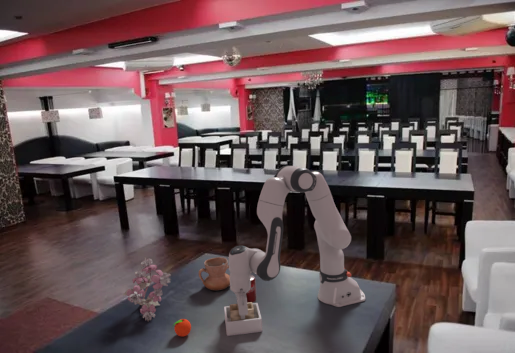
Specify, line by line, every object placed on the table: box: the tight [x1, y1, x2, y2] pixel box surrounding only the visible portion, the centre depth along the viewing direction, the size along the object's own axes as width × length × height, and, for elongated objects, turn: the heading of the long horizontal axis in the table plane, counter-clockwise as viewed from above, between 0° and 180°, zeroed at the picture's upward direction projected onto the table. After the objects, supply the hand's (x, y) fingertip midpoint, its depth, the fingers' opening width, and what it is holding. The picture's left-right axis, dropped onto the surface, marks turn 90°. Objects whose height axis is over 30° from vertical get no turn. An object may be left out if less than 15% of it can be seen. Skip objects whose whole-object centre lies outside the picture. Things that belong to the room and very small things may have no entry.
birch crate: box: [229, 302, 254, 321], centre depth 168 cm, size 10×6×5 cm, turn 98°
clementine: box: [171, 318, 192, 338], centre depth 163 cm, size 8×7×7 cm
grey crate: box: [223, 302, 263, 337], centre depth 168 cm, size 15×13×6 cm
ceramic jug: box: [198, 256, 230, 291], centre depth 203 cm, size 18×14×14 cm
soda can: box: [246, 274, 257, 303], centre depth 188 cm, size 7×7×12 cm
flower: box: [122, 257, 173, 322], centre depth 182 cm, size 20×22×25 cm
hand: (242, 313), depth 168 cm, fingers closed on birch crate, 6 cm apart
